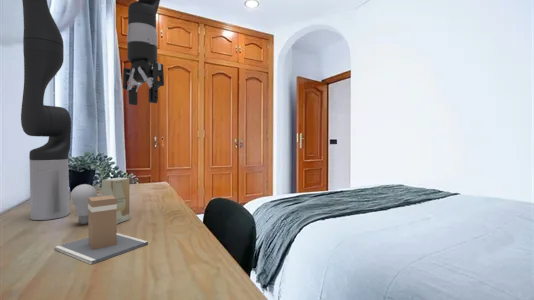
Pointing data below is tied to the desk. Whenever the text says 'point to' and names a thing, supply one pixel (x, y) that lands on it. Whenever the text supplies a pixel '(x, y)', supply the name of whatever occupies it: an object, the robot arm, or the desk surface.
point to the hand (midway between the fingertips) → (142, 103)
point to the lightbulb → (82, 200)
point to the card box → (102, 221)
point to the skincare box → (118, 195)
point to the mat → (100, 249)
